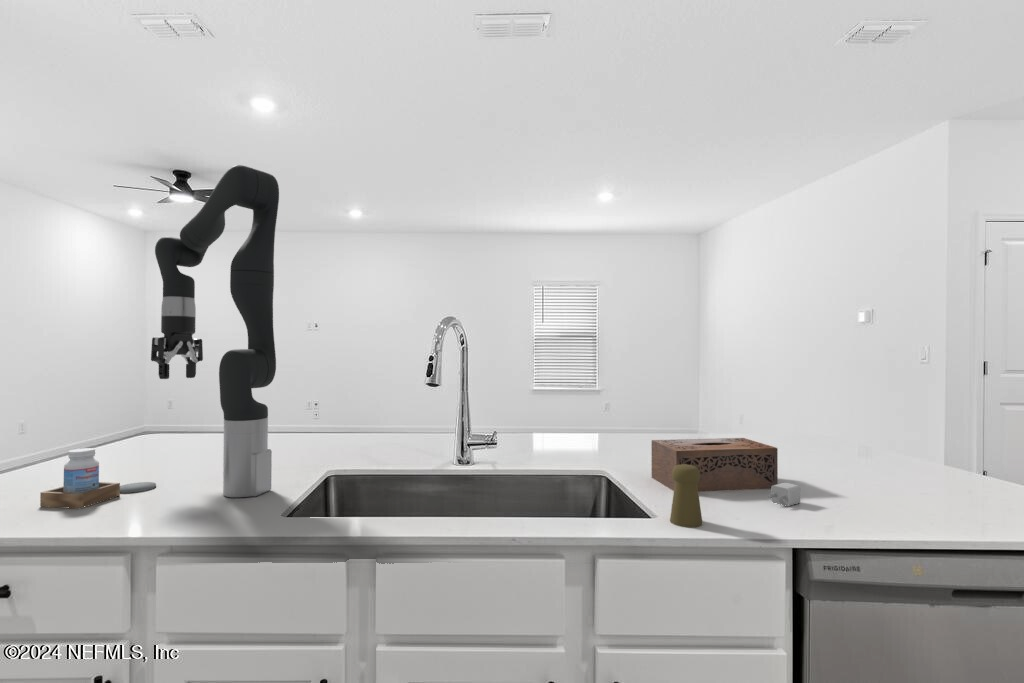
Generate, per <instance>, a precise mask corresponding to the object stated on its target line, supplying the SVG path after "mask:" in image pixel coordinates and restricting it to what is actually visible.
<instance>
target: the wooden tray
mask: <svg viewBox="0 0 1024 683" xmlns="http://www.w3.org/2000/svg"><path fill="white" fill-rule="evenodd" d="M120 486H121V483H120V482H108V481H107V482H106V481H104V482H103V481H99V488H97V489H93V490H90V491H86V492H83V493H65V492H63V486H60V487H57V488H53V489H48V490H45V491H41V492H40V493H39V494H40V497H39V498H40V504H39V506H47V507H46V508H55V507H69V508H68V509H73V508H81V509H83V508H82V507H84V506H87V507H89V506H88V505H90V506H92V505H91V504H93V505H95V504H94V503H97V502H100V501H103V500H106V501H108V500H107V499H109V500H111V499H110V498H113V497H116V498H118V497H117V496H119V497H120V494H121V493H120ZM113 499H114V498H113ZM103 502H104V501H103ZM100 503H101V502H100ZM97 504H98V503H97ZM48 506H49V507H48ZM84 508H85V507H84Z"/></svg>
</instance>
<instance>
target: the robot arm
mask: <svg viewBox="0 0 1024 683" xmlns="http://www.w3.org/2000/svg"><path fill="white" fill-rule="evenodd" d="M279 202H280V188H279V183H278V180H277V178H276V177H275V176H274V175H273V174H271V173H268V172H264V171H262V170H259V169H256V168H253V167H249V166H246V165H242V164H236V165H232V166H231V167H230V168H229V169H227V170H226V171H225V173H224V174H223V175H222V177H220V179H219V181H218V183H217V184H216V186H215V187H214V188H213V190H212V192H211V193H210V195H209V196H208V198H207V200H206V201H205V203H204V205H203V206H202V207H201V209H200V210H199V211H198V212H197V214H196V215H194V216H193V217H192V218H191V219H190V220H189V221H188V222H187V223H185V225H184V226H183V227H182V228H181V230H180V232H179V238H178V237H173V236H162V237H160V238H159V239H158V240H157V242H156V244H155V246H154V254H155V259H156V263H157V265H158V268H159V271H160V276H161V279H162V302H161V308H160V309H161V314H160V315H161V317H160V318H161V319H160V320H161V322H160V323H161V324H160V327H161V328H160V333H161V334H163V336H153V337H152V339H151V350H150V351H151V353H150V360H151V362H155V363H156V364H158V377H159V379H160V380H169V378H170V362H171V361H172V359H173V358H174V357H175V356H176V355H178V356H179V355H180V356H181V357H182V358H183V359H184V360H185V362H186V364H185V367H186V368H185V378H187V379H194V378H195V377H196V375H197V363H198V362H202V361H203V360H204V354H203V353H204V352H203V351H204V350H203V339H202V338H193V335H195V334H196V316H197V315H196V302H195V301H196V300H195V291H196V290H195V288H196V285H195V284H196V283H195V279H194V278H193V277H192V276H190V275H188V274H184V273H183V272H181V271H180V270H179V268H178V267H184V268H185V267H186V268H193V267H197V266H199V265H200V264H201V263H202V261H203V260H204V258H205V254H207V251H208V249H209V247H211V245H213V244H214V243H215V241H217V240H219V238H220V237H221V235H222V234H223V233H224V230H225V228H226V217H225V216H226V215H225V214H226V211H228V210H229V209H230V208H232V207H234V206H238V207H241V208H243V209H244V208H245V209H249V210H252V213H253V214H252V225H251V229H250V232H249V234H248V236H247V237H246V239H245V241H244V242H243V243H242V245H241V246H240V248H239V249H238V250H237V252H236V253H235V254H234V256H233V258H232V260H231V263H230V269H229V270H230V271H229V273H230V275H229V276H230V278H229V279H230V280H229V281H230V282H229V289H230V291H229V292H230V295H231V298H232V300H233V302H234V304H235V306H236V308H237V311H238V312H239V314H240V315H241V317H242V320H243V322H244V324H245V327H246V330H247V348H243V349H241V348H240V349H239V348H238V349H231V350H227V351H226V352H225V353H224V354H223V356H222V357H221V360H220V362H219V367H218V368H219V369H218V381H219V382H218V383H219V399H220V400H219V402H220V407H221V409H222V412H223V464H222V466H223V467H222V468H223V472H222V474H223V475H222V477H223V481H222V483H223V488H222V490H223V491H222V492H223V493H222V494H223V496H224V497H227V498H246V497H257V496H259V495H262V494H264V493H266V492H268V491H271V490H272V467H273V466H272V465H273V464H272V462H273V461H272V452H273V451H272V449H270V448H269V445H268V442H269V438H268V437H269V434H268V433H269V430H268V429H269V408H268V406H267V405H266V404H265V403H263V402H262V403H261V402H258V401H257V400H256V399H254V396H253V392H252V390H253V389H259V388H260V389H261V388H265V387H268V386H269V385H271V384H272V382H273V380H274V378H275V376H276V370H277V358H276V357H277V356H276V344H275V334H274V288H275V283H274V282H275V264H274V263H275V262H274V260H275V238H276V228H277V218H278V210H279Z"/></svg>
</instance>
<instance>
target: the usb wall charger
mask: <svg viewBox="0 0 1024 683" xmlns="http://www.w3.org/2000/svg"><path fill="white" fill-rule="evenodd" d="M767 498H768V499H771V500H770V501H771V503H772V502H773V503H772V504H774V503H777V504H776V505H778V504H782V505H786V506H788V507H791V506H790V505H792V506H795V505H794V504H796V505H799V504H800V503H801V487H800V485H798V484H793V483H790V482H789V483H788V482H781V483H778V484H777V485H773V486H772V487H771V489H770V494H768V496H767ZM798 503H799V504H798ZM782 505H781V506H782Z"/></svg>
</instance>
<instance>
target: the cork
mask: <svg viewBox="0 0 1024 683" xmlns="http://www.w3.org/2000/svg"><path fill="white" fill-rule="evenodd" d="M672 477H673V479H674V481H675V487H674V491H673V495H672V503H671V510H670V518H669V521H670V523H671V524H673V525H675V526H677V527H682V528H698V527H702V526H703V524H702V523H703V517H702V510H701V502H700V495H699V492H698V486H697V483H698V482H699V479H700V471H699V469H698V468H697V467H695V466H692V465H687V464H681V465H676V466H675V467H674V468H673V471H672Z"/></svg>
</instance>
